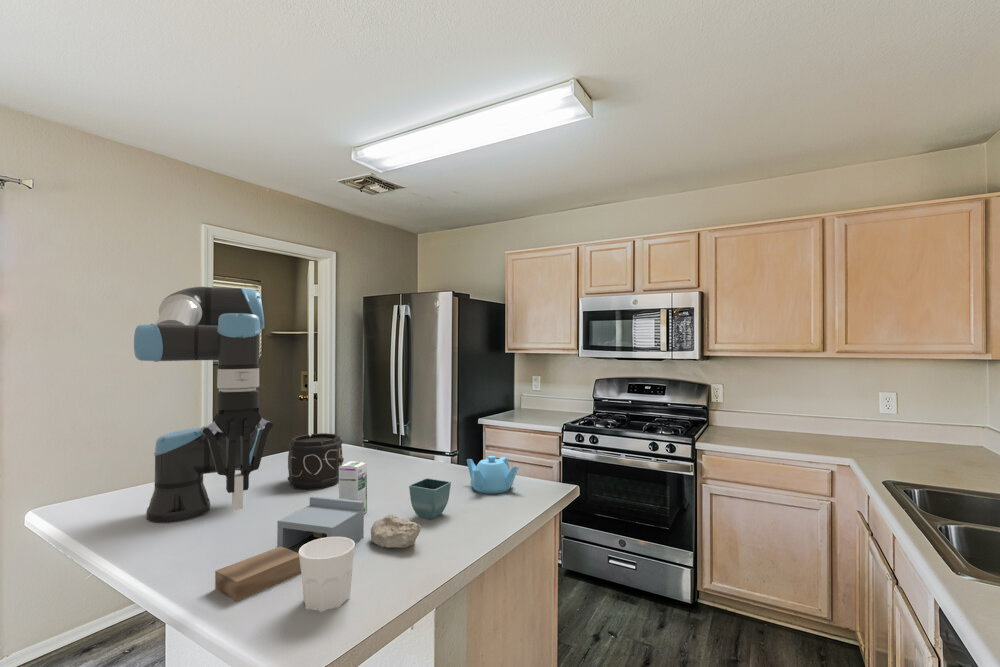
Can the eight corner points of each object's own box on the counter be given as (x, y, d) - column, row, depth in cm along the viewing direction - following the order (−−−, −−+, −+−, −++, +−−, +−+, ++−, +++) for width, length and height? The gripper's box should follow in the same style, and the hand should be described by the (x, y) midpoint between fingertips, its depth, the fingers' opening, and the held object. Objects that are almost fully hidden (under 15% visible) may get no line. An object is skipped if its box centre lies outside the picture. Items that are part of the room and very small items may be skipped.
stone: (390, 569, 112) (407, 535, 110) (358, 533, 119) (373, 500, 116) (413, 558, 119) (429, 525, 117) (382, 524, 125) (396, 492, 123)
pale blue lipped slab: (277, 550, 114) (277, 512, 114) (312, 530, 126) (312, 495, 126) (332, 559, 110) (332, 518, 110) (363, 537, 122) (363, 501, 122)
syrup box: (357, 519, 134) (358, 466, 135) (338, 517, 136) (338, 465, 136) (367, 512, 140) (367, 461, 140) (348, 510, 141) (348, 460, 141)
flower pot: (451, 512, 140) (451, 481, 140) (435, 523, 132) (435, 489, 132) (425, 508, 144) (425, 477, 144) (408, 518, 136) (408, 485, 136)
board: (215, 591, 96) (215, 570, 96) (280, 564, 108) (280, 546, 108) (236, 603, 92) (237, 581, 92) (302, 573, 104) (302, 554, 104)
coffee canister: (333, 491, 160) (333, 442, 160) (278, 490, 160) (279, 442, 161) (350, 475, 178) (350, 432, 178) (301, 475, 178) (302, 432, 179)
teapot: (519, 494, 157) (519, 460, 157) (473, 497, 154) (473, 463, 154) (508, 481, 172) (508, 450, 172) (466, 483, 169) (466, 452, 169)
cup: (321, 583, 99) (321, 534, 99) (364, 590, 96) (364, 540, 96) (286, 609, 89) (286, 554, 89) (333, 618, 86) (333, 562, 86)
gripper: (204, 393, 92) (202, 519, 91) (277, 389, 100) (276, 505, 99) (198, 390, 98) (196, 509, 97) (268, 387, 106) (267, 497, 105)
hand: (237, 507), depth 98 cm, fingers closed
